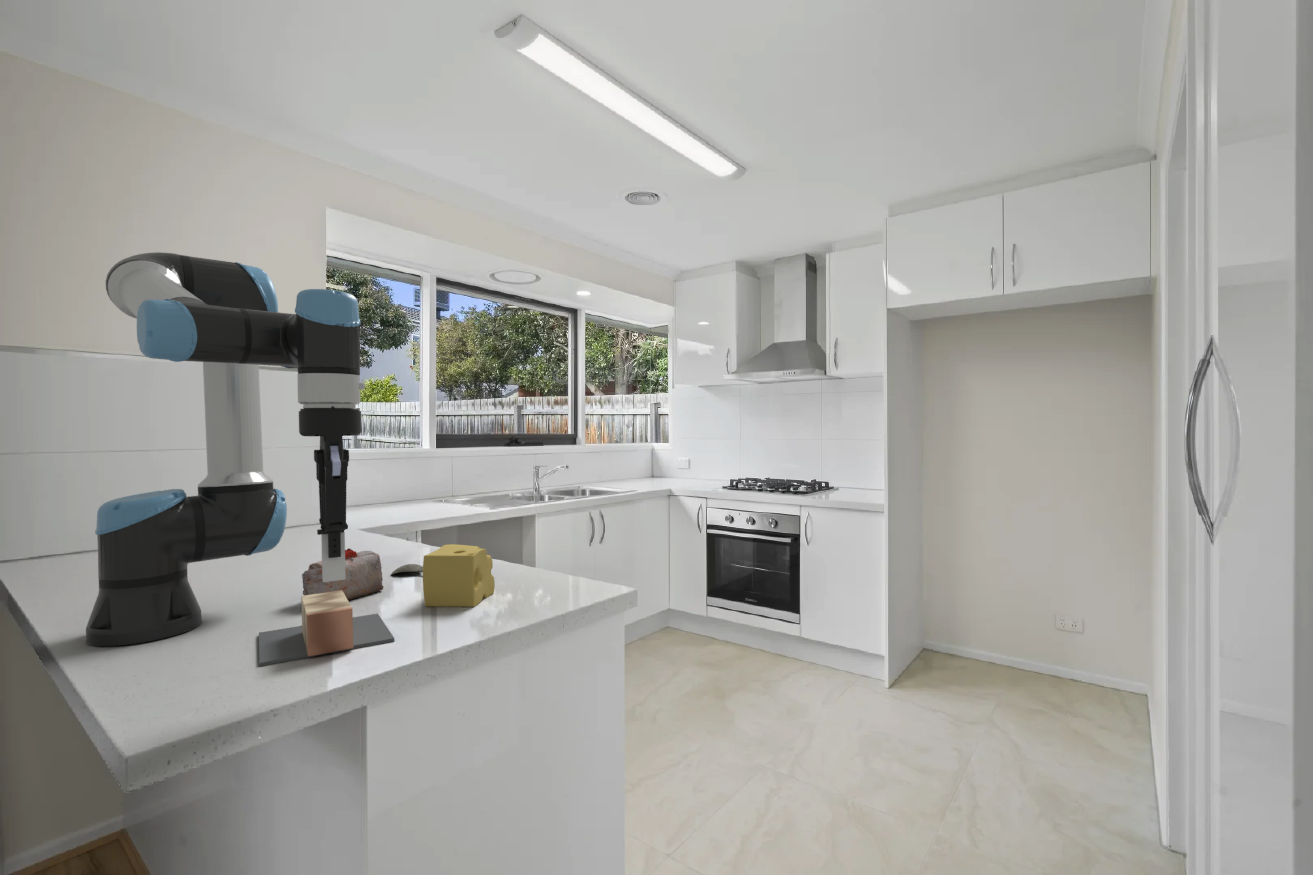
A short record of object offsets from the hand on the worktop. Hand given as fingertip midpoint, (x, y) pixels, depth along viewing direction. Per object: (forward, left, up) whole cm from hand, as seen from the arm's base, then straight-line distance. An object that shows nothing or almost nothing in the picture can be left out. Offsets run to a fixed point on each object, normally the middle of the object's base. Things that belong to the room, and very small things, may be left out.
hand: (333, 579), depth 86 cm
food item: (+6, +43, -13) cm, 45 cm away
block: (0, +8, -10) cm, 13 cm away
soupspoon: (+24, +51, -14) cm, 58 cm away
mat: (0, +18, -13) cm, 22 cm away
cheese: (+24, +28, -13) cm, 39 cm away
